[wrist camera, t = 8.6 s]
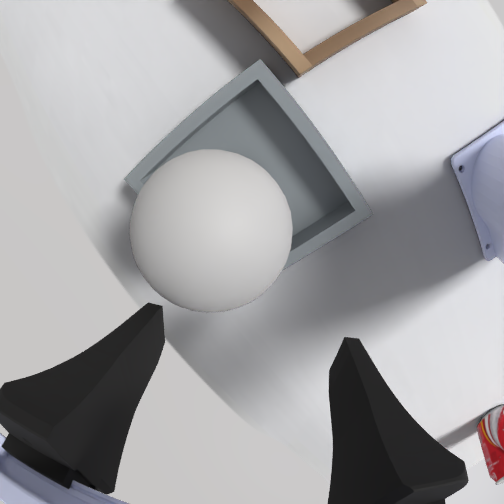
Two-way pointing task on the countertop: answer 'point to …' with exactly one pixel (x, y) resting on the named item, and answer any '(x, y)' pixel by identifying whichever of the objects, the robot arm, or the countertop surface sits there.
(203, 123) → the parts tray
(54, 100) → the countertop surface
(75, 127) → the countertop surface
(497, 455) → the soda can
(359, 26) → the holder collar
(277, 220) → the lightbulb
